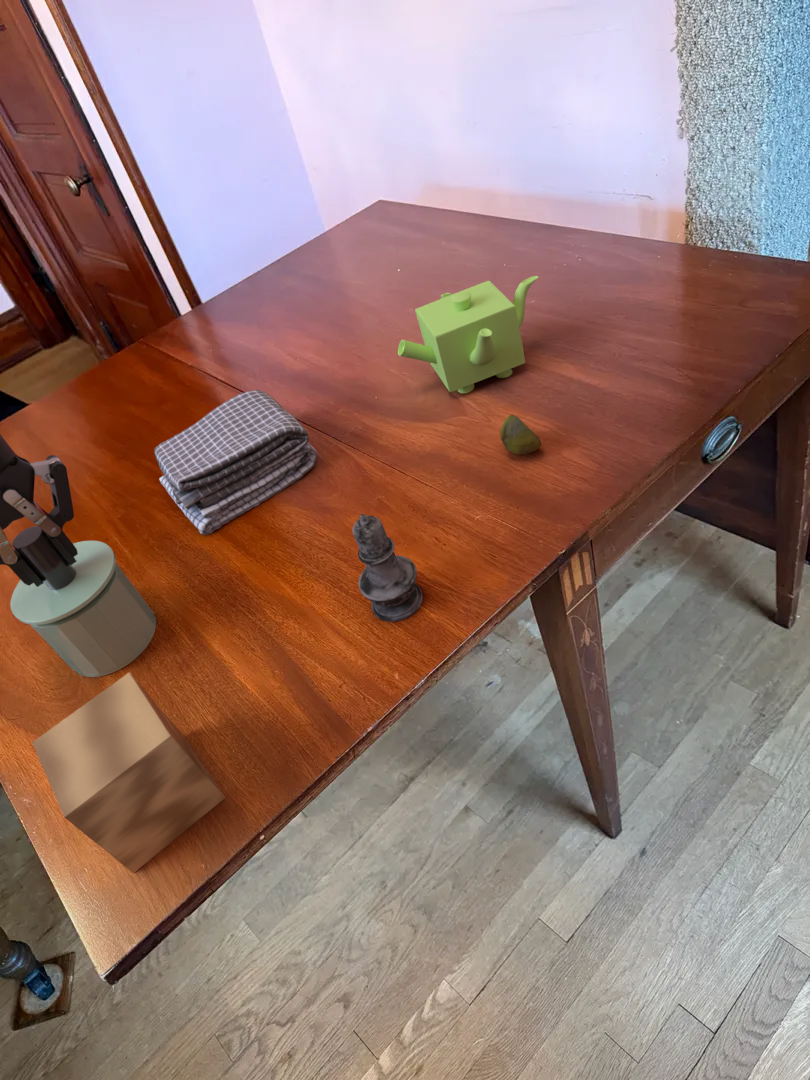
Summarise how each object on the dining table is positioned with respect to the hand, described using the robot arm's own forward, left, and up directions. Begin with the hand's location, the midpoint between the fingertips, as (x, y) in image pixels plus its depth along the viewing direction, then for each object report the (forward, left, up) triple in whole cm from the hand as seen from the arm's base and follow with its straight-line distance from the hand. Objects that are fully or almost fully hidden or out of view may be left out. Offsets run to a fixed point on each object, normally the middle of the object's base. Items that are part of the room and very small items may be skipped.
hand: (55, 569), depth 74 cm
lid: (0, 0, -2) cm, 2 cm away
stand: (-4, -22, -11) cm, 25 cm away
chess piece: (+24, -21, -11) cm, 34 cm away
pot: (0, 0, -11) cm, 11 cm away
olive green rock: (+48, -15, -11) cm, 52 cm away
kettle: (+57, +2, -11) cm, 58 cm away
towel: (+24, +13, -11) cm, 29 cm away
